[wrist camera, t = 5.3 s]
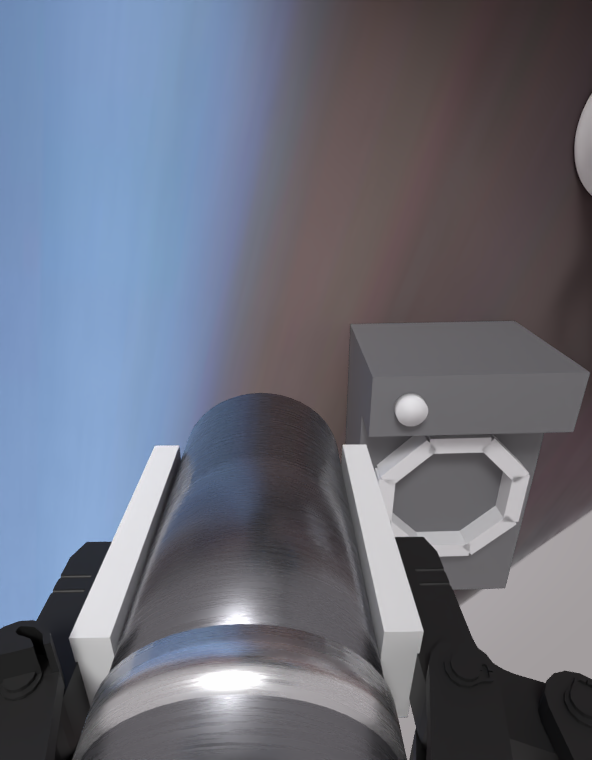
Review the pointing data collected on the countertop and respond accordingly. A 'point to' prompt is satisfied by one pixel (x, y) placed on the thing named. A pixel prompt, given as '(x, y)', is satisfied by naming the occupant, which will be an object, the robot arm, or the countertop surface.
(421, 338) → the camera body
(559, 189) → the countertop surface
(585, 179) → the mug
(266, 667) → the lens
